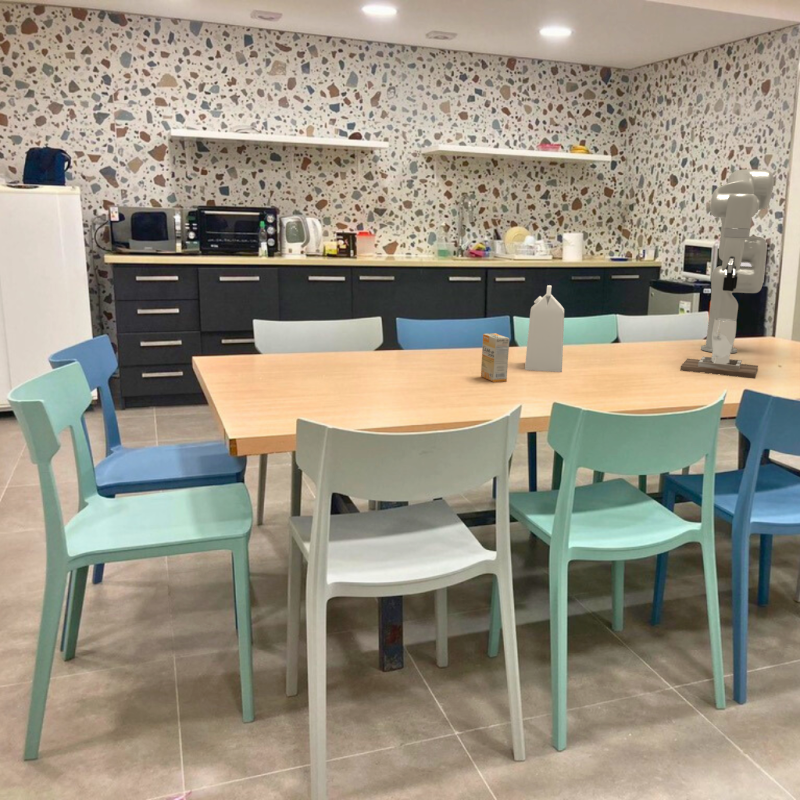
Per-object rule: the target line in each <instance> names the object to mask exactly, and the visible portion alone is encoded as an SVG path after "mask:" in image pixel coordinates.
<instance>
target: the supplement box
mask: <svg viewBox="0 0 800 800" xmlns="http://www.w3.org/2000/svg"><path fill="white" fill-rule="evenodd" d="M481 347H482V351H481V366H480V377H481V378H484V379H485V380H488V381H491V382H492V383H503V382H505V383H506V382H507V379H508V368H509V367H508V364H509V350H510V337H507V336H504V335H501V334H498V333H496V332H495V333H483V334H482V346H481Z"/></svg>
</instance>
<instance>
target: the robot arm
mask: <svg viewBox="0 0 800 800" xmlns="http://www.w3.org/2000/svg"><path fill="white" fill-rule="evenodd" d="M726 182H727V183H726V184H723V185H721V186H718V187H717V188H716V189H714V191H713V192H712V195H711V198H710V206H709V209H710V214H711V215H712V216H713V217H715V218H718V219H719V218H720V222H721V225H720V226H721V227H720V237H719V245H718V258H719V259H720V260H721V261H722V263H721V264H722V265H719V266H717V267H714V269H713V270H712V272H711V276H710V279H711V280H710V283H711V291H710V293H711V295H710V296H711V297H710V305H709V306H710V307H709V314H708V322H707V323H708V324H707V330H706V332H707V333H706V338H705V339H706V340H705V344H704V345H701V346H700V350H701V351H704V352H709V353H712V352H713V349H712V331H713V325H714V320H715V319H716V318H725V319H734V320H737V319H738V312H739V311H738V310H739V303H738V301H737V299H736V297H734V295H733V293H739V294H740V293H741V294H743V293H744V294H757V293H759V292H760V291H761V290H762V287H763V285H764V279H765V278H764V277H765V270H766V259H767V247H768V246H767V241H766V239H765V238H764V237H761V236H755V235H753V236H751V235H750V233H751V225H752V218H753V217H754V216H755V215H757V213H758V212H759V211H761V210H765V209H767V208H768V207H769V204H770V203H771V202H770V201H771V199H772V194H773V191H774V185H775V179H774V174H773V173H772V171H770V170H768V169H738V170H735V171H733V172H732V173H730V175H729V176H728V178H727V181H726ZM742 263H745V264H750V266H746V265H745V266H744V265H743V266H742ZM737 352H738V349H737V348H736V347H734V345H733V346H732V349H731V352H730V354H735V353H737Z"/></svg>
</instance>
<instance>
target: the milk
mask: <svg viewBox="0 0 800 800" xmlns="http://www.w3.org/2000/svg"><path fill="white" fill-rule="evenodd" d="M533 303H534V304H533V305H532V306H531V308H530V313H529V322H528V334H527V341H526V342H527V343H526V352H525V354H526V355H525V365H524V370H525V371H539V372H551V373H552V372H554V373H563V356H564V355H563V354H564V353H563V351H564V330H565V329H564V328H565V308H564V307H563V305H562V304H561V303H560V302H559V301H558V300H557V299H556V297H554V295H553V294H552V285H550V284H549V285H548V284H547V286H546V293H545V294H544V295H543V296H541V295H539V296H538V297H537V298H536V299H535V300H534V301H533Z"/></svg>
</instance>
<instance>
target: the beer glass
mask: <svg viewBox="0 0 800 800" xmlns="http://www.w3.org/2000/svg"><path fill="white" fill-rule="evenodd" d="M736 334H737V320H734V319H725V318H716V319H715V320H714V325H713V331H712V349H713V352H711V353H712V355H711V357H712V358H711V361H710V363H718V364H728V365H730V359H731V358H730V356H731V353H730V352H731V349H732V346H733V347H734V342H735V338H736Z"/></svg>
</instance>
